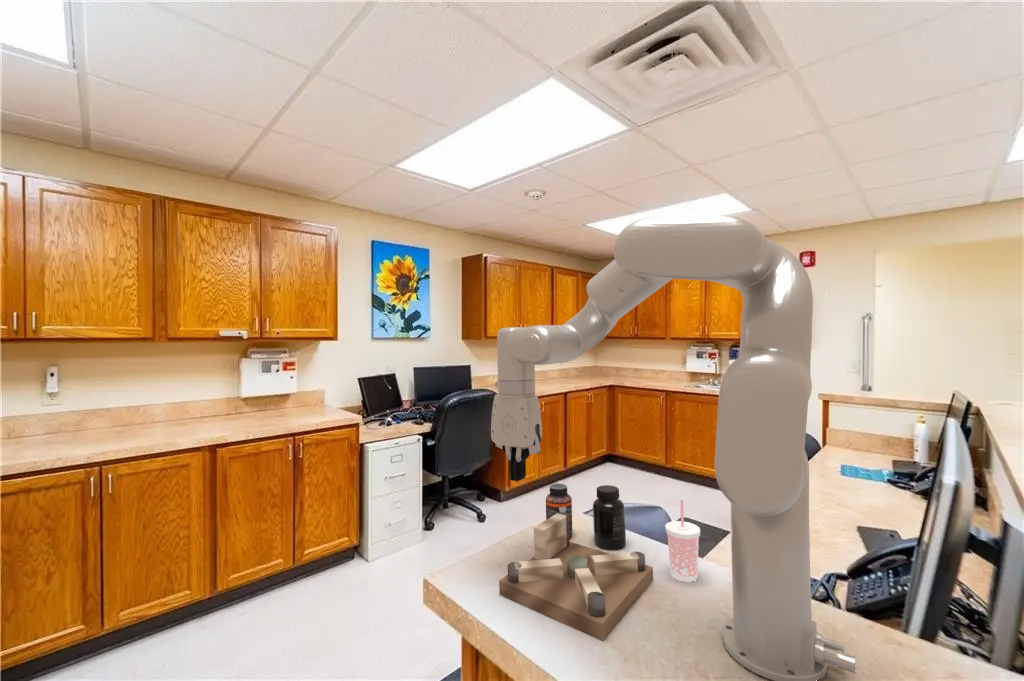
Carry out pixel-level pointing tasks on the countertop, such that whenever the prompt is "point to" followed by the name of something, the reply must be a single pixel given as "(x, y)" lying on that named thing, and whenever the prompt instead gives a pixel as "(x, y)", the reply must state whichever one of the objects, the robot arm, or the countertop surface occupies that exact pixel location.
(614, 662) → the countertop surface
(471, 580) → the countertop surface
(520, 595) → the stool seat
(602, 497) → the supplement bottle
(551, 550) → the hinged leg
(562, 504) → the supplement bottle
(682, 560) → the beverage cup
